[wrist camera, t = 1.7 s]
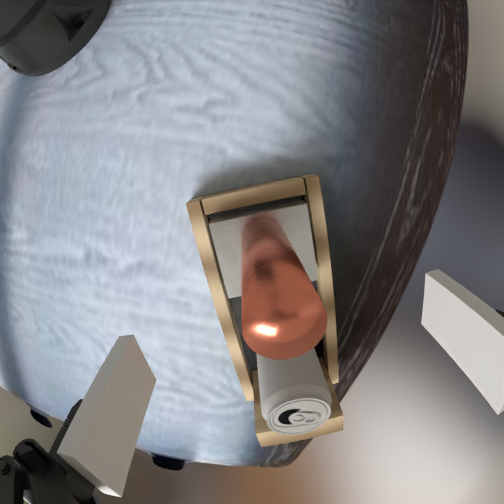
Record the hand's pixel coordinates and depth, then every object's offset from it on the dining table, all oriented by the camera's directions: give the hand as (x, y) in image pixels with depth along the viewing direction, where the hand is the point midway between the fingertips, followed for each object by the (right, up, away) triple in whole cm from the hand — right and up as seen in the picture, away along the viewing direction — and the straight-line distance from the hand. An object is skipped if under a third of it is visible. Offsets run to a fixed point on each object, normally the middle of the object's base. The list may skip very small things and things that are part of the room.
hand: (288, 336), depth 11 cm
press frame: (+1, -2, +19) cm, 19 cm away
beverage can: (+2, -7, +21) cm, 22 cm away
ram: (0, +5, +17) cm, 17 cm away
